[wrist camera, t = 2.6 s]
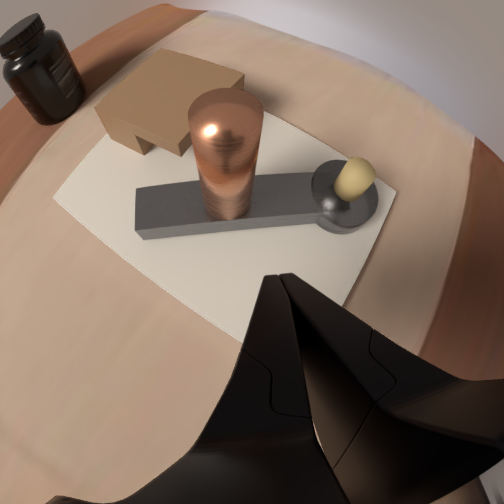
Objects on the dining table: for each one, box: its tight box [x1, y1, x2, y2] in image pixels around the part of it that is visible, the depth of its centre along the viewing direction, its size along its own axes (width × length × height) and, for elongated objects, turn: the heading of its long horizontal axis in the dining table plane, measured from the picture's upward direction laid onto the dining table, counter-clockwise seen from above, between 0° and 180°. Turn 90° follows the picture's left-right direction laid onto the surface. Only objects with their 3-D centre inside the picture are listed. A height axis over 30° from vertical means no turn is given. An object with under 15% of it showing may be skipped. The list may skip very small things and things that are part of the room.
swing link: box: [135, 88, 378, 240], centre depth 16 cm, size 16×5×10 cm, turn 97°
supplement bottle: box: [0, 13, 85, 125], centre depth 18 cm, size 7×7×12 cm
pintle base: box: [53, 48, 397, 343], centre depth 19 cm, size 24×16×6 cm
